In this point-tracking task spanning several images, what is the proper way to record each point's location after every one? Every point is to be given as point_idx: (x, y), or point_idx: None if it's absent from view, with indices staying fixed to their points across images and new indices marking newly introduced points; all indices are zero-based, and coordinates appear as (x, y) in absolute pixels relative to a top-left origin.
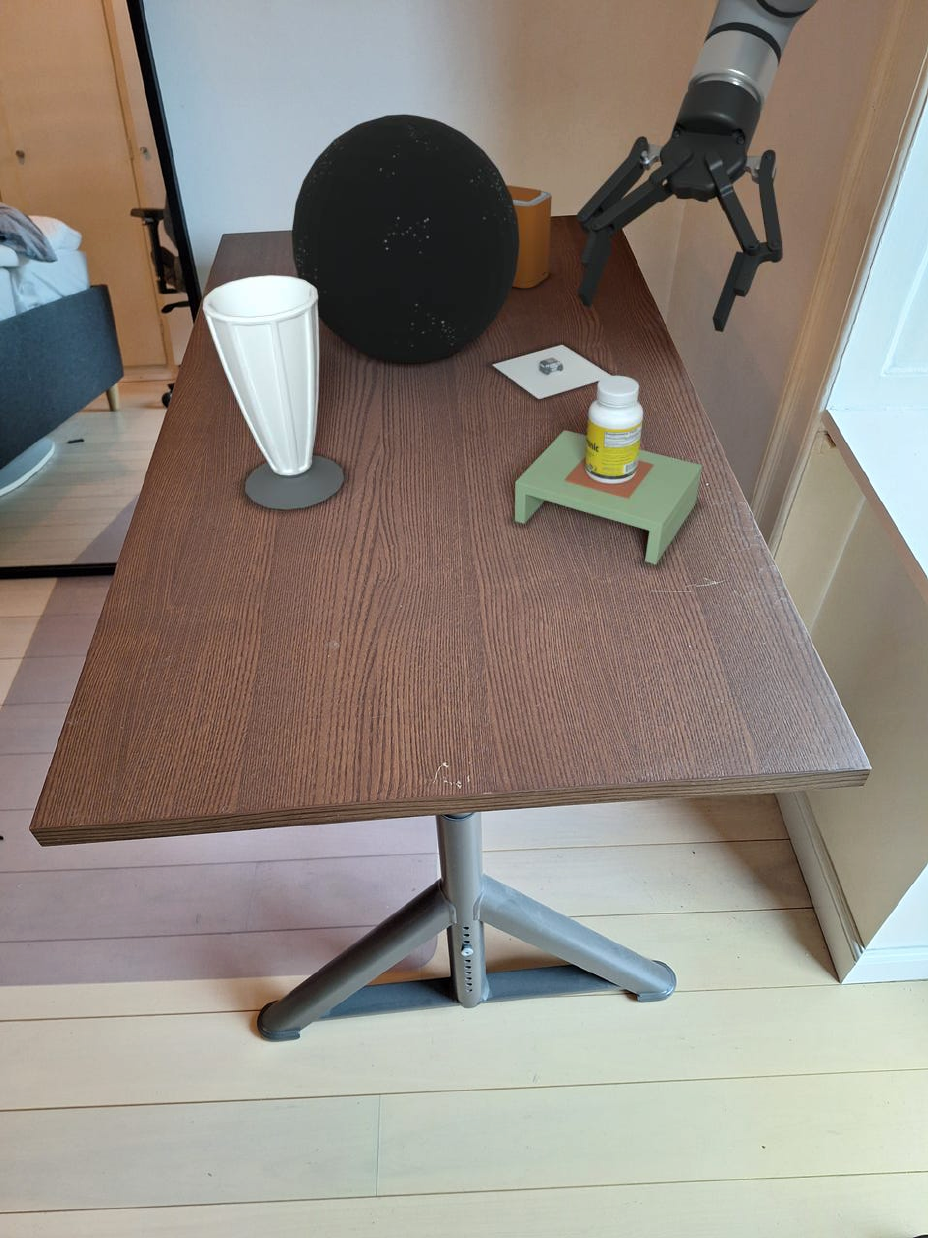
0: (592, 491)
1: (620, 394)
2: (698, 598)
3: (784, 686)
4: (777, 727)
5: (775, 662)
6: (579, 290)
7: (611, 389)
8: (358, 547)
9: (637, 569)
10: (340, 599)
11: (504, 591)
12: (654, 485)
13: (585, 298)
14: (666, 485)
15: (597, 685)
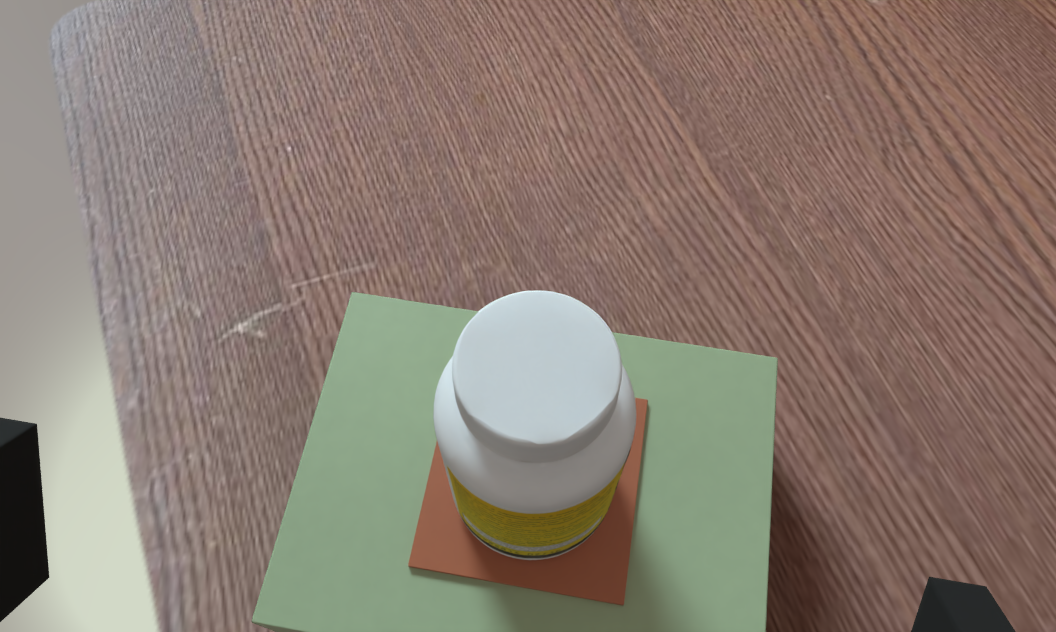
0: None
1: (511, 295)
2: (275, 270)
3: (128, 110)
4: (151, 38)
5: (136, 154)
6: (986, 602)
7: (554, 323)
8: (1022, 215)
9: None
10: (942, 82)
11: (663, 181)
12: (392, 457)
13: (917, 624)
14: (357, 466)
15: (433, 36)
